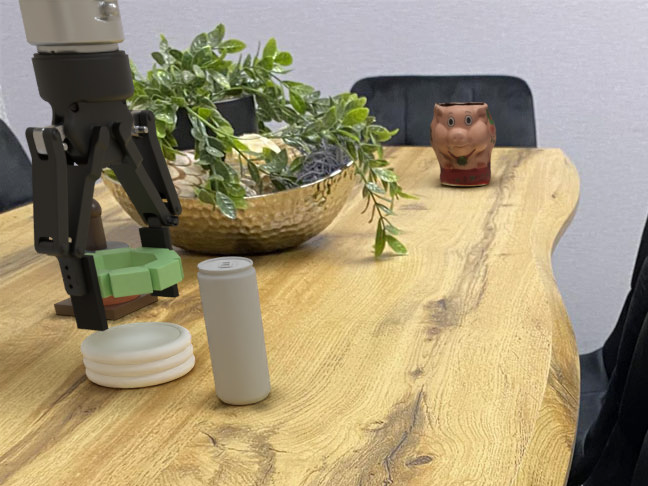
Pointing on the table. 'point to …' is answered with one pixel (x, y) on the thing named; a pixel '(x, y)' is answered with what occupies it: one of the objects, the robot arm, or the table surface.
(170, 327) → the coaster
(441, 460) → the table surface
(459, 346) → the table surface
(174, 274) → the green ring
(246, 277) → the beverage can
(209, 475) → the table surface
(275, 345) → the table surface
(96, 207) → the stacking stand
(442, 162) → the decorative planter
